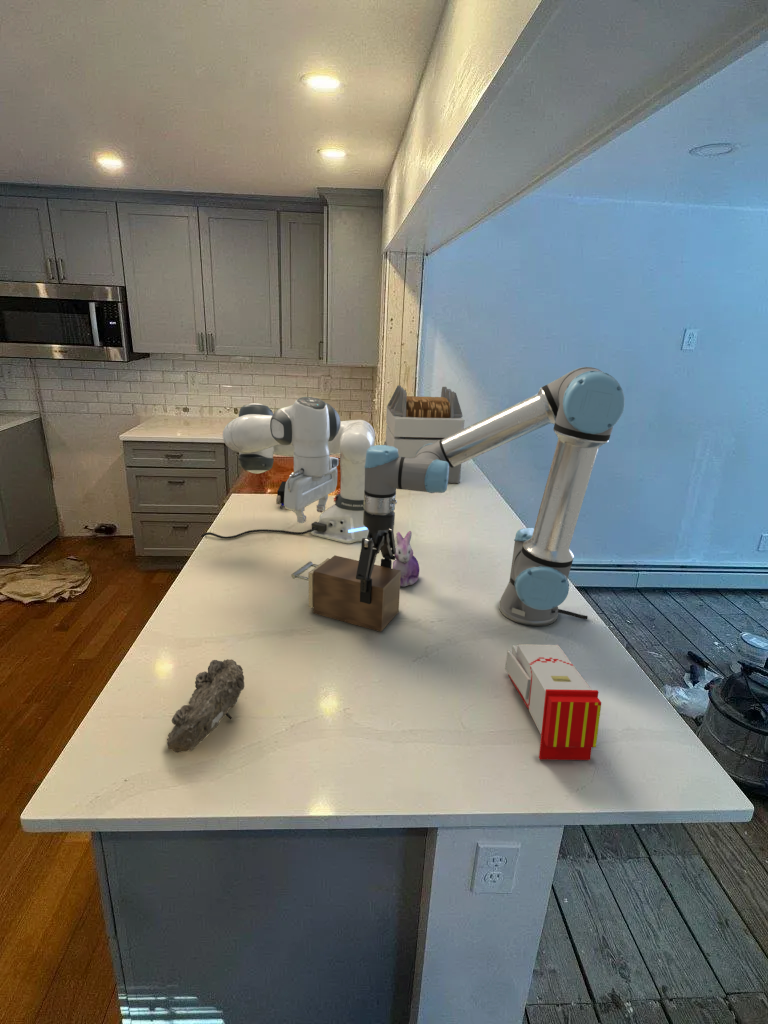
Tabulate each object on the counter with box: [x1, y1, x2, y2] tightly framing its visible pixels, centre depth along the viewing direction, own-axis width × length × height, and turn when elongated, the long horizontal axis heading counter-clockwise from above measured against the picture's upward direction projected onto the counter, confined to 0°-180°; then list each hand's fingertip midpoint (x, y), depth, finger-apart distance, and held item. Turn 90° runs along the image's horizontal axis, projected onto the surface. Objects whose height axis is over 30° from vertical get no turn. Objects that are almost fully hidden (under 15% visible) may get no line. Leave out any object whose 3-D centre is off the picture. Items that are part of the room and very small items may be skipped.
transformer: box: [383, 384, 465, 484], centre depth 268 cm, size 34×33×41 cm
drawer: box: [290, 558, 330, 609], centre depth 147 cm, size 24×10×10 cm, turn 66°
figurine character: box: [275, 480, 287, 509], centre depth 223 cm, size 7×8×15 cm
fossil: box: [166, 658, 245, 754], centre depth 106 cm, size 22×10×15 cm
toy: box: [504, 643, 602, 761], centre depth 112 cm, size 12×13×30 cm
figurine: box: [392, 530, 420, 588], centre depth 163 cm, size 9×10×15 cm
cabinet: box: [312, 554, 401, 633], centre depth 145 cm, size 19×11×12 cm, turn 66°
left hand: (311, 516), depth 145 cm, fingers open, 8 cm apart
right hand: (375, 592), depth 143 cm, fingers closed on cabinet, 11 cm apart
